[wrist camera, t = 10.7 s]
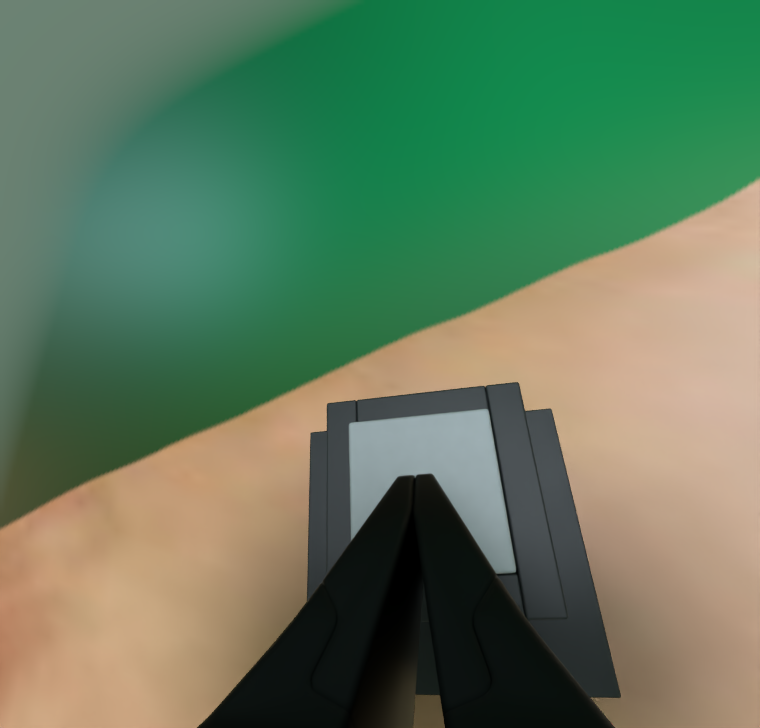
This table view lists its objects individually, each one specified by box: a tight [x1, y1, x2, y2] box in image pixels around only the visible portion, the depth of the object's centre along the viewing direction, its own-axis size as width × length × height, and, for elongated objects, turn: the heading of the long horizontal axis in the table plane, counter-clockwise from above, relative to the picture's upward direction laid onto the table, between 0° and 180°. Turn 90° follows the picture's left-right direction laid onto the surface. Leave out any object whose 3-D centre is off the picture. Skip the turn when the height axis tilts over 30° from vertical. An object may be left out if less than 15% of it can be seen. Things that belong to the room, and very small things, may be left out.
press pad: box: [349, 409, 516, 574], centre depth 12 cm, size 4×4×2 cm
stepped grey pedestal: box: [307, 382, 621, 698], centre depth 15 cm, size 10×10×6 cm
